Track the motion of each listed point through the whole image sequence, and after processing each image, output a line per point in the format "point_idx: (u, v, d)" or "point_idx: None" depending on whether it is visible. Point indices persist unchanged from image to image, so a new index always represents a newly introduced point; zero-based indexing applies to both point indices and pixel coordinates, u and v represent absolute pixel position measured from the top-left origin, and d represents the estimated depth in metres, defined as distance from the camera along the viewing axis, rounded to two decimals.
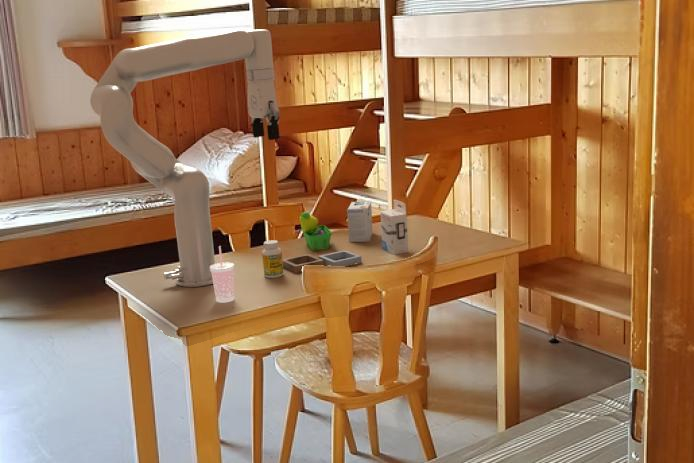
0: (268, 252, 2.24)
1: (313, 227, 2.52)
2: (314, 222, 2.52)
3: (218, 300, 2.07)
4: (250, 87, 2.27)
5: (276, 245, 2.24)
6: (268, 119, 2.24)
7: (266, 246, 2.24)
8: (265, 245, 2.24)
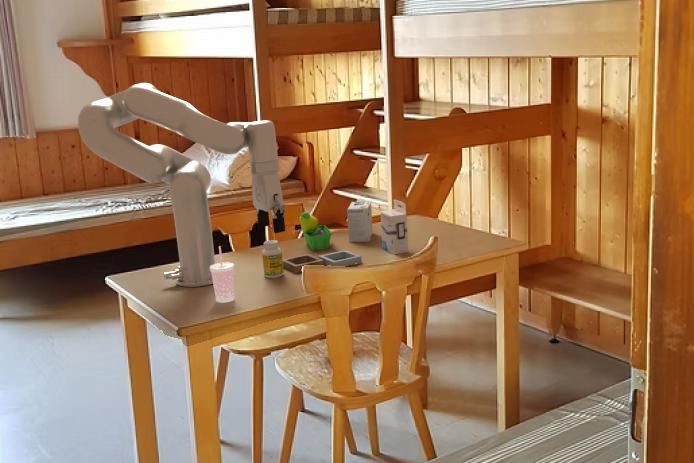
0: (268, 252, 2.24)
1: (313, 227, 2.52)
2: (314, 222, 2.52)
3: (218, 300, 2.07)
4: (254, 179, 2.22)
5: (276, 245, 2.24)
6: (273, 212, 2.18)
7: (266, 246, 2.24)
8: (265, 245, 2.24)
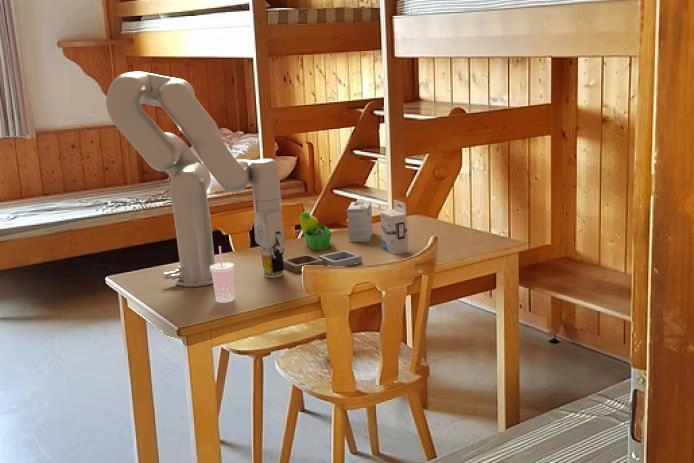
0: (268, 252, 2.24)
1: (313, 227, 2.52)
2: (314, 222, 2.52)
3: (218, 300, 2.07)
4: (256, 216, 2.24)
5: (276, 245, 2.24)
6: (273, 253, 2.22)
7: None
8: None
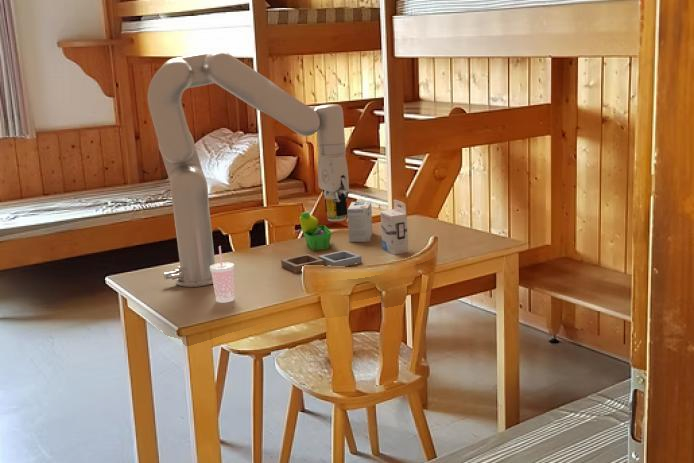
0: (332, 196, 2.29)
1: (313, 227, 2.52)
2: (314, 222, 2.52)
3: (218, 300, 2.07)
4: (321, 161, 2.29)
5: (340, 189, 2.29)
6: (338, 196, 2.27)
7: None
8: None
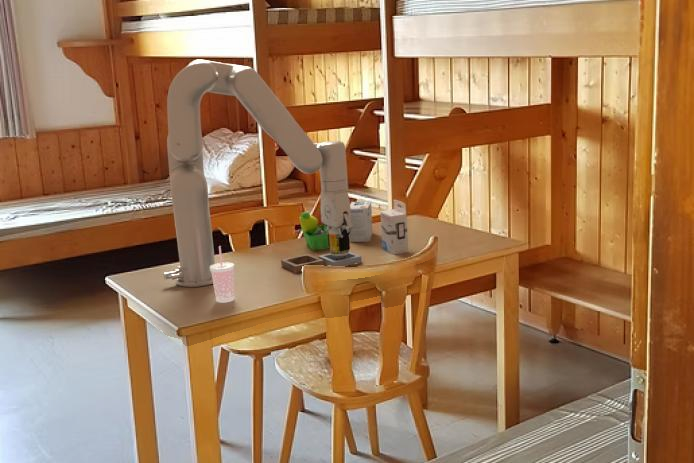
0: (335, 231, 2.31)
1: (313, 227, 2.52)
2: (314, 222, 2.52)
3: (218, 300, 2.07)
4: (323, 197, 2.31)
5: (342, 224, 2.32)
6: (340, 232, 2.29)
7: None
8: None
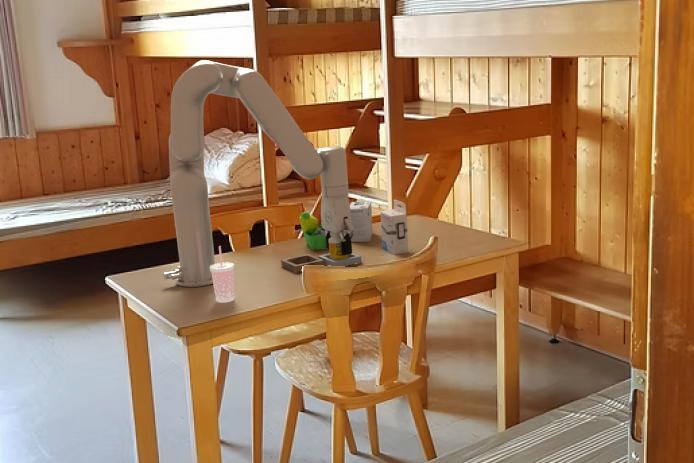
0: (334, 240, 2.32)
1: (313, 227, 2.52)
2: (314, 222, 2.52)
3: (218, 300, 2.07)
4: (324, 202, 2.32)
5: None
6: (342, 236, 2.29)
7: (333, 234, 2.32)
8: (332, 233, 2.32)
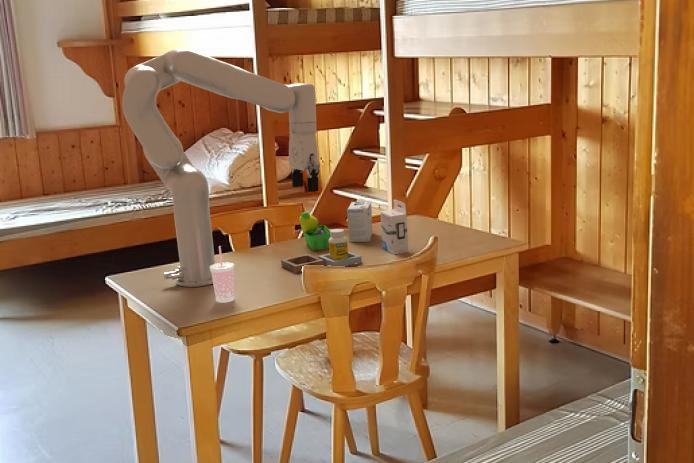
0: (334, 240, 2.32)
1: (313, 227, 2.52)
2: (314, 222, 2.52)
3: (218, 300, 2.07)
4: (291, 139, 2.31)
5: (342, 233, 2.32)
6: (308, 172, 2.27)
7: (333, 234, 2.32)
8: (332, 233, 2.32)
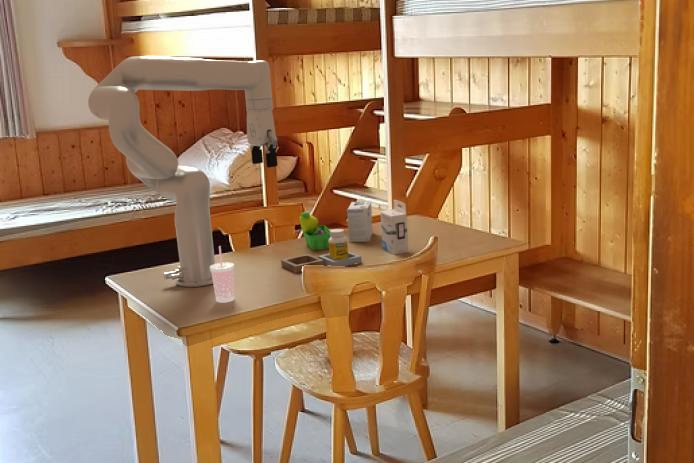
0: (334, 240, 2.32)
1: (313, 227, 2.52)
2: (314, 222, 2.52)
3: (218, 300, 2.07)
4: (249, 116, 2.34)
5: (342, 233, 2.32)
6: (266, 147, 2.31)
7: (333, 234, 2.32)
8: (332, 233, 2.32)
